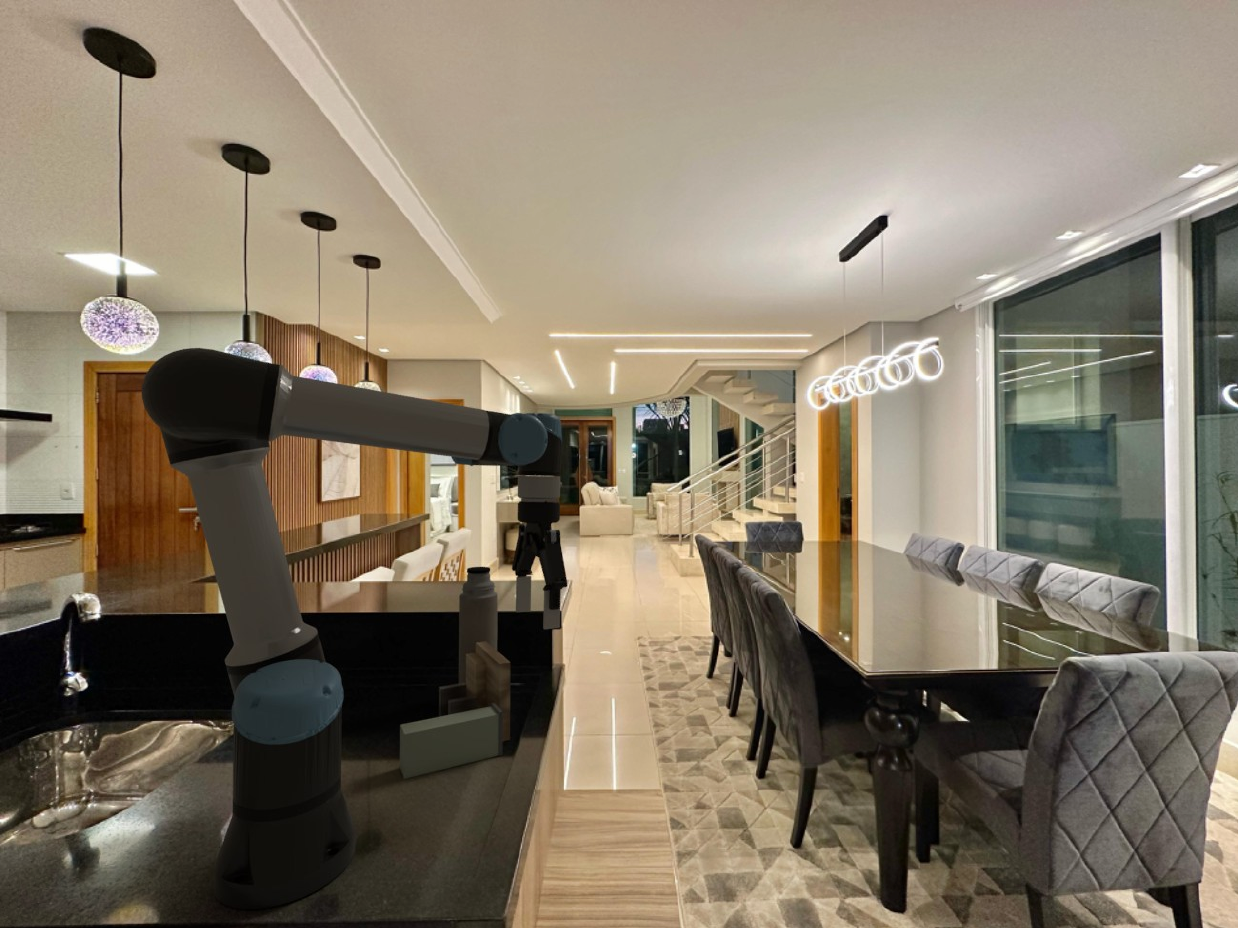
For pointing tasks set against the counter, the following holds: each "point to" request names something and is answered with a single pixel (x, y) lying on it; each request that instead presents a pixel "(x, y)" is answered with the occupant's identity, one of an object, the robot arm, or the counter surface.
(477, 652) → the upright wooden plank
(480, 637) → the thermos bottle
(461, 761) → the rectangular block
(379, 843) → the counter surface
